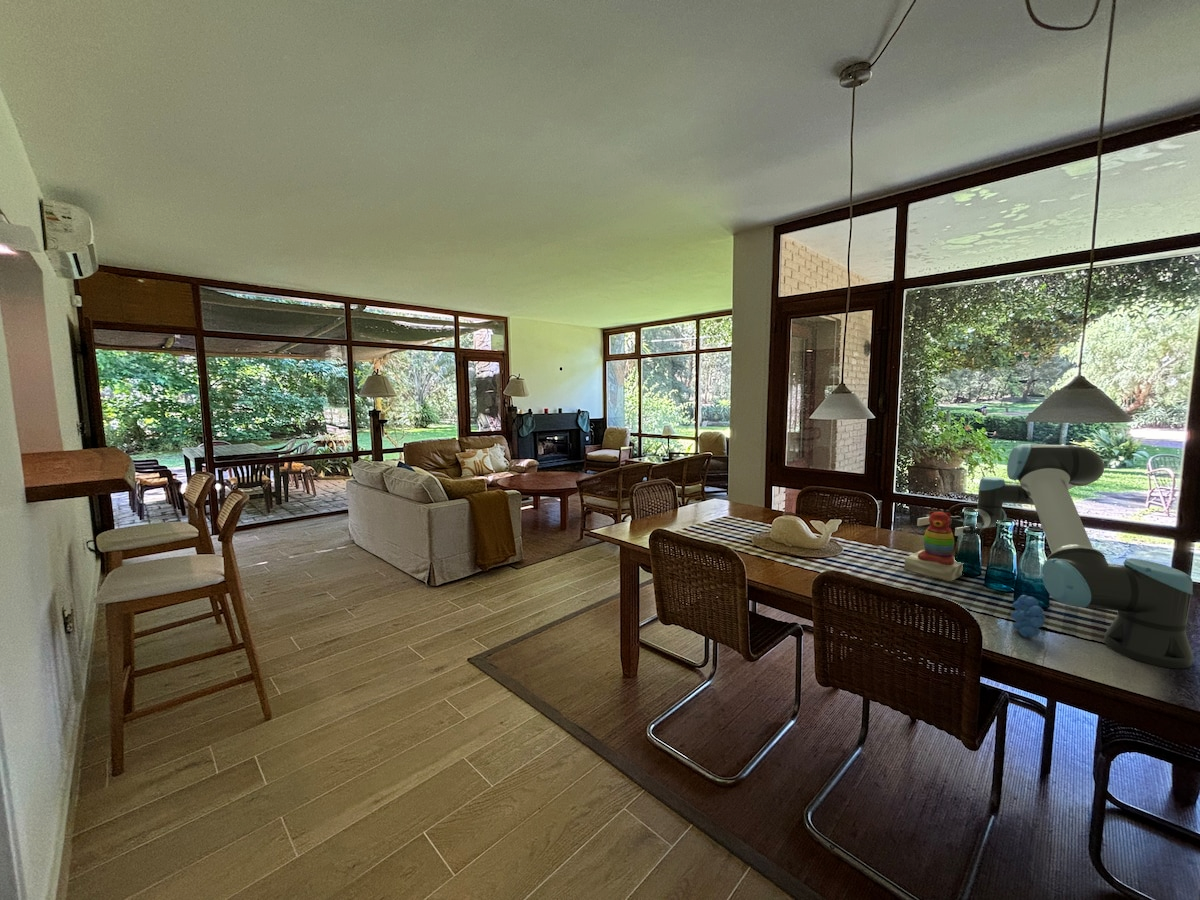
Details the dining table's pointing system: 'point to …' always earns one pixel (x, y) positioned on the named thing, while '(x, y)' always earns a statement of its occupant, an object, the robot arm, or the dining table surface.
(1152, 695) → the dining table surface
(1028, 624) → the grapes
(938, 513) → the stacking bear
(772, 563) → the dining table surface
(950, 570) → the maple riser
